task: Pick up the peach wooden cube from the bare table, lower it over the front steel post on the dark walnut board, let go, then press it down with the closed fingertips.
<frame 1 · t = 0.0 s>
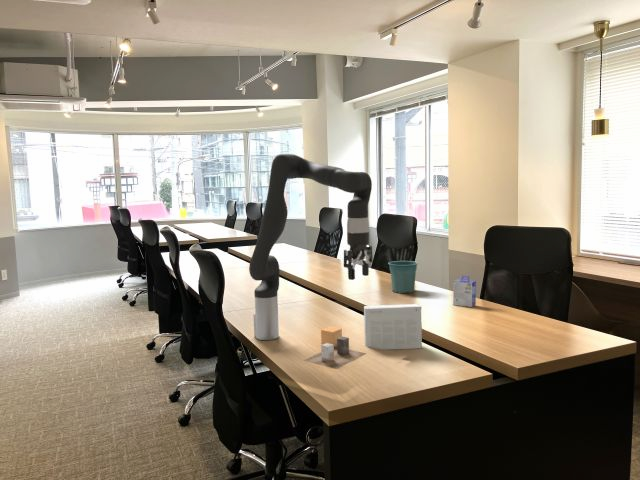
hand: (358, 277, 175), 29 cm above the table, tool pointing down, fingers open, 8 cm apart
post board: (335, 360, 177), on the table
ink cartridge box: (464, 305, 251), on the table
flower pot: (403, 291, 285), on the table
front post: (327, 360, 174), resting on post board
peach wooden cube: (331, 347, 192), on the table
skincare box: (392, 347, 191), on the table
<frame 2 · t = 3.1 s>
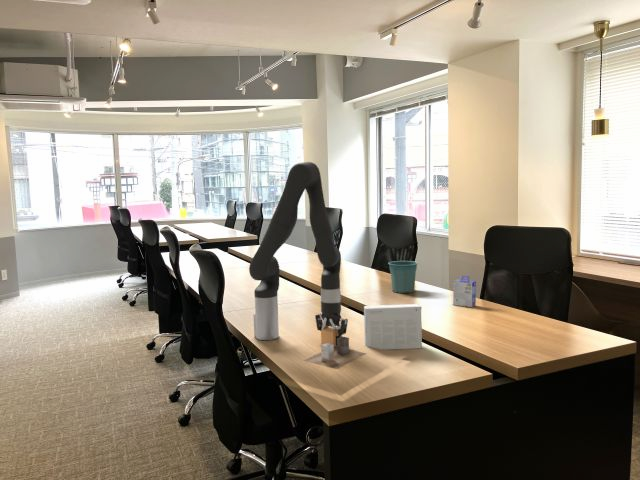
hand: (331, 343, 192), 2 cm above the table, tool pointing down, fingers closed on peach wooden cube, 5 cm apart
peach wooden cube: (331, 347, 192), on the table, touching gripper
everything else where it was.
when the fingers open (4 cm above the table, at t = 8.8 s): peach wooden cube drops 1 cm, resting on post board.
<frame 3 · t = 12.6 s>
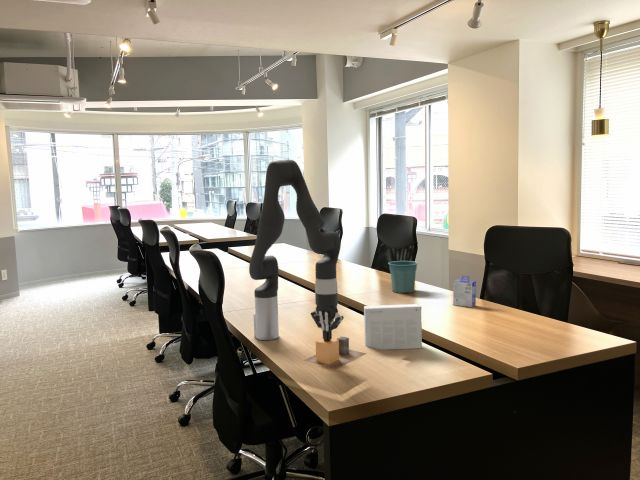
hand: (327, 340, 173), 8 cm above the table, tool pointing down, fingers closed
peach wooden cube: (327, 360, 174), point 1 cm above the table, touching gripper, post board
everything else where it was.
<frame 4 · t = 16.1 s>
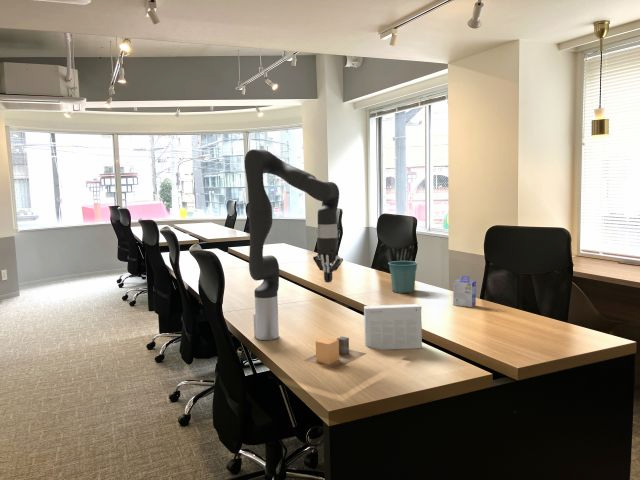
hand: (328, 282, 190), 25 cm above the table, tool pointing down, fingers closed
peach wooden cube: (327, 360, 174), point 1 cm above the table, touching post board
everything else where it was.
at the end: peach wooden cube 0.1 cm from the front post (horizontally); peach wooden cube point 1.5 cm above the table; peach wooden cube tilted 0° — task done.
